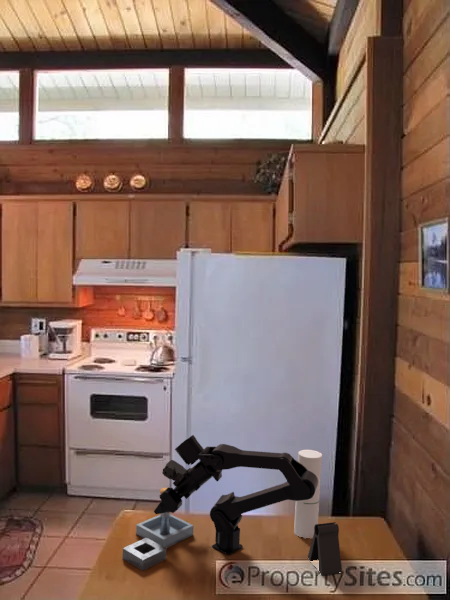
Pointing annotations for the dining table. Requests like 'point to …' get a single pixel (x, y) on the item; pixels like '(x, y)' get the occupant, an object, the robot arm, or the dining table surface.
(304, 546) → the dining table surface
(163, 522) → the pin
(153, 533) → the tray
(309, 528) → the cylindrical container
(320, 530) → the phone stand
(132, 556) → the pin collar
